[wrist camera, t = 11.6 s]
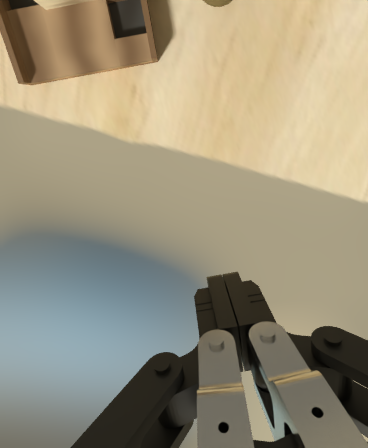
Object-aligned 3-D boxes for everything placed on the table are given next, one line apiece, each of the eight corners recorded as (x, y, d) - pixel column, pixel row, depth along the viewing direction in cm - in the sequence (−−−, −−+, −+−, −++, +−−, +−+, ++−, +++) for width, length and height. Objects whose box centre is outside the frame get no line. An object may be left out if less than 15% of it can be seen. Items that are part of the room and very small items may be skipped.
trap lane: (132, -81, 35) (127, -108, 31) (157, 61, 41) (156, 56, 36) (-14, -52, 36) (-41, -75, 31) (31, 85, 41) (14, 83, 37)
